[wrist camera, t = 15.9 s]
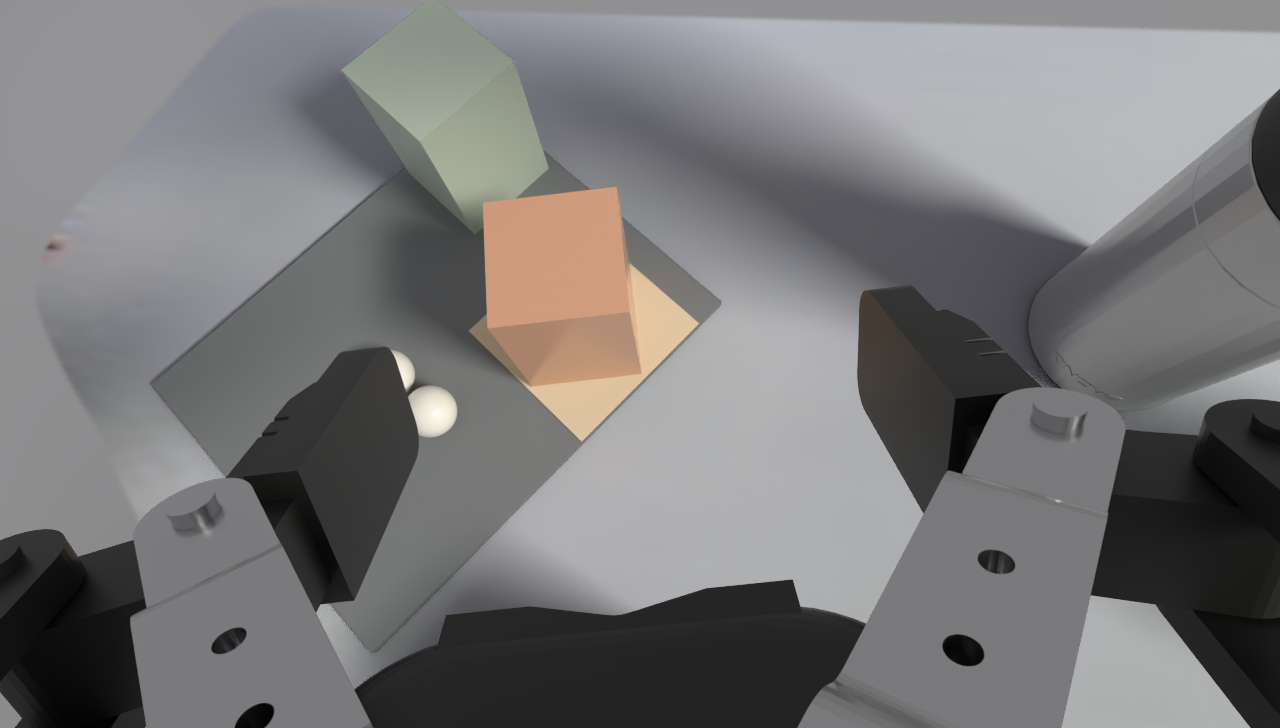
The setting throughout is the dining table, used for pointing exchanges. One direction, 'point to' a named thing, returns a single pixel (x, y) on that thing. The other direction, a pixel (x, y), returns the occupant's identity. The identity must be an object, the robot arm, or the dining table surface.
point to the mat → (421, 376)
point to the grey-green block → (451, 110)
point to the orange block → (561, 286)
